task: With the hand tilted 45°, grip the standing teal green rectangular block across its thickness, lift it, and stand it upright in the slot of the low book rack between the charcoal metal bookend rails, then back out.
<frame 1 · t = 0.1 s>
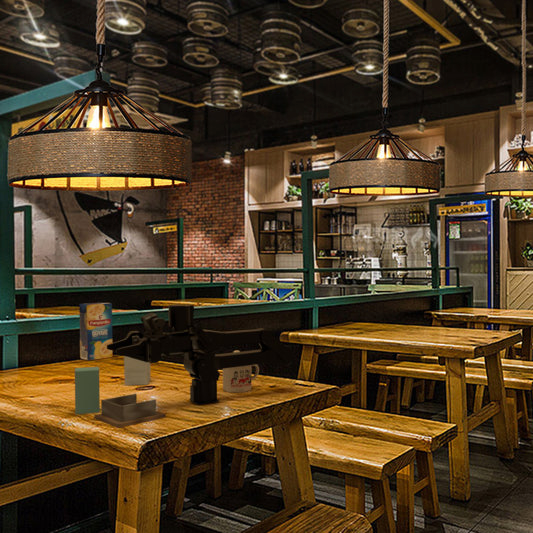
hand: (111, 349, 150), 17 cm above the table, tool horizontal, fingers open, 9 cm apart
teal green rectangular block: (87, 411, 154), on the table
beverage box: (96, 358, 241), on the table
supplement box: (137, 383, 189), on the table
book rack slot: (129, 417, 147), on the table
teacup with lid: (241, 389, 178), on the table
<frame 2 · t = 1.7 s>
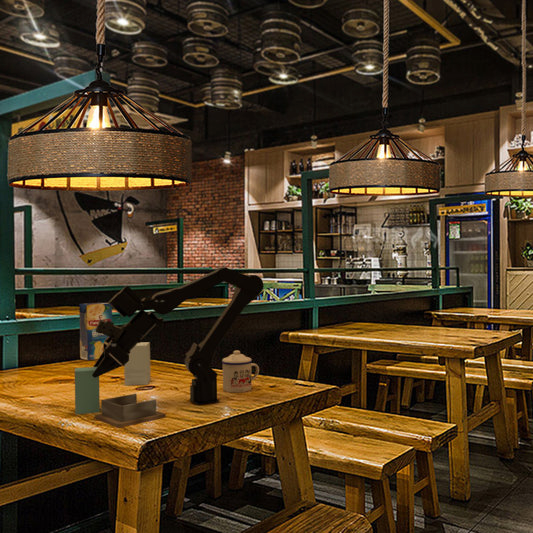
hand: (93, 373, 154), 10 cm above the table, tool tilted 45°, fingers open, 9 cm apart
nothing on the table moved.
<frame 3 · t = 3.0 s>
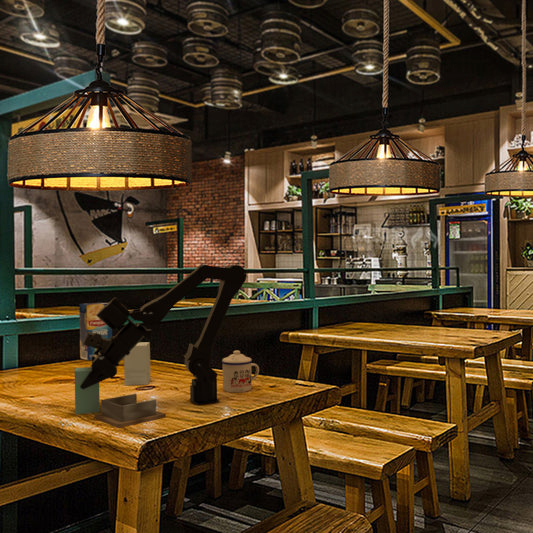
hand: (81, 386, 154), 7 cm above the table, tool tilted 45°, fingers closed on teal green rectangular block, 5 cm apart
teal green rectangular block: (87, 411, 154), on the table, touching gripper
everything else where it was.
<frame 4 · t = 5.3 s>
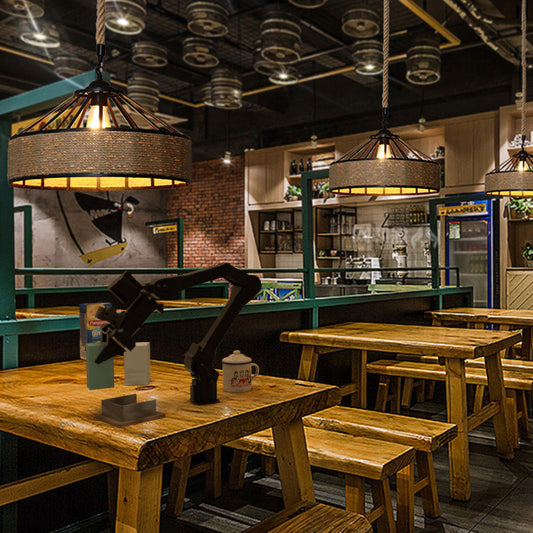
hand: (94, 361, 150), 14 cm above the table, tool tilted 45°, fingers closed on teal green rectangular block, 5 cm apart
teal green rectangular block: (100, 387, 151), point 7 cm above the table, touching gripper
everything else where it was.
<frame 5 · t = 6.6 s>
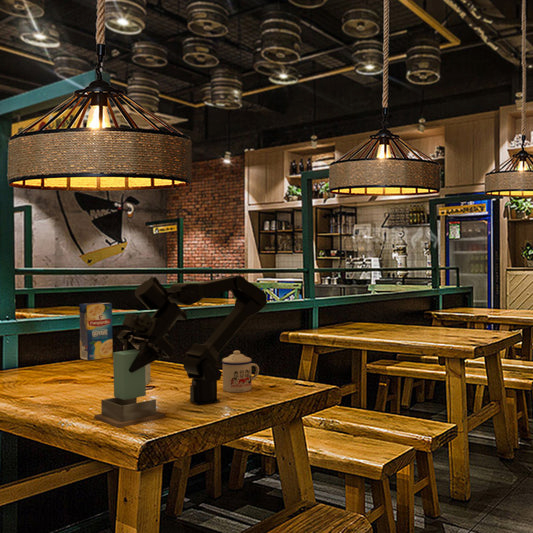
hand: (124, 370, 146), 12 cm above the table, tool tilted 45°, fingers closed on teal green rectangular block, 5 cm apart
teal green rectangular block: (129, 396, 147), point 5 cm above the table, touching gripper
everything else where it was.
when the fingers open (8 cm above the table, at t = 7.7 s): teal green rectangular block drops 1 cm, resting on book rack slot.
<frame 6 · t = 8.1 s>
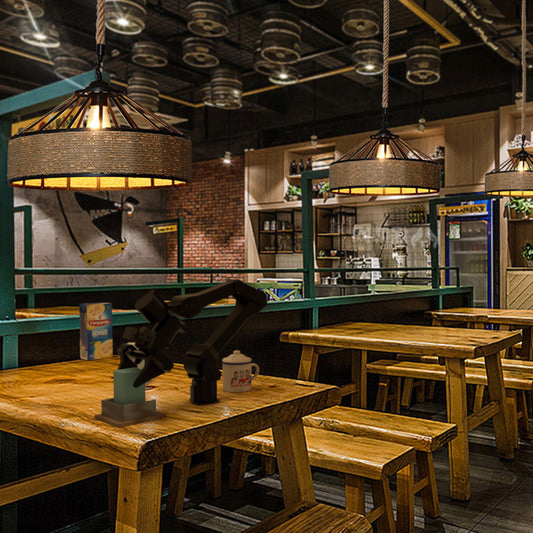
hand: (124, 384, 146), 9 cm above the table, tool tilted 45°, fingers open, 9 cm apart
teal green rectangular block: (129, 414, 147), point 1 cm above the table, touching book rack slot
everything else where it was.
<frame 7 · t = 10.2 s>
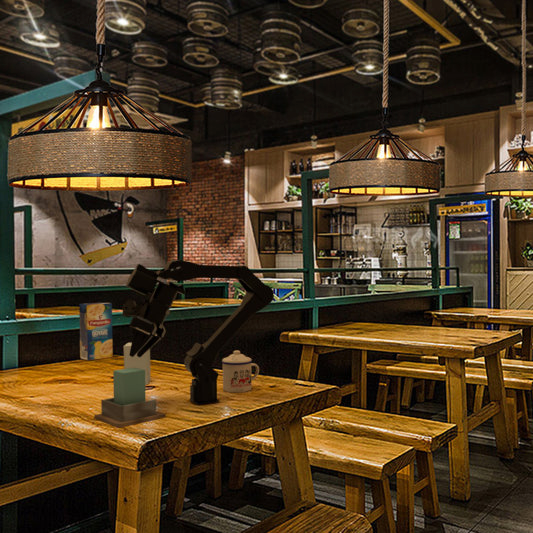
hand: (134, 356, 156), 14 cm above the table, tool tilted 25°, fingers open, 9 cm apart
nothing on the table moved.
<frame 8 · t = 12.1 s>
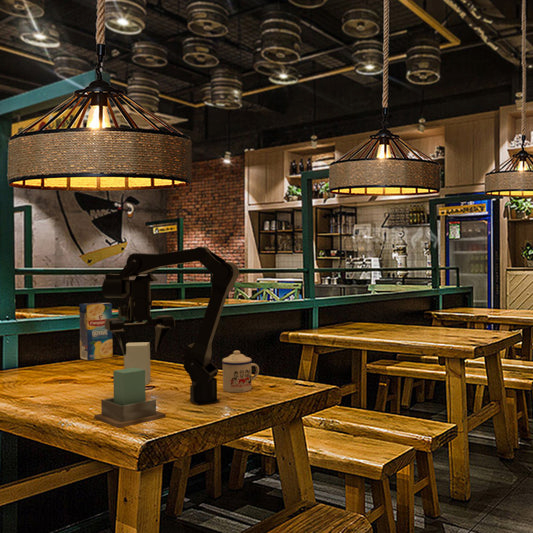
hand: (140, 353, 166), 13 cm above the table, tool pointing down, fingers open, 9 cm apart
nothing on the table moved.
at the end: teal green rectangular block 0.0 cm off-centre on the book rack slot, point 0.8 cm above the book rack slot's base; teal green rectangular block tilted 0°; the gripper is holding nothing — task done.
